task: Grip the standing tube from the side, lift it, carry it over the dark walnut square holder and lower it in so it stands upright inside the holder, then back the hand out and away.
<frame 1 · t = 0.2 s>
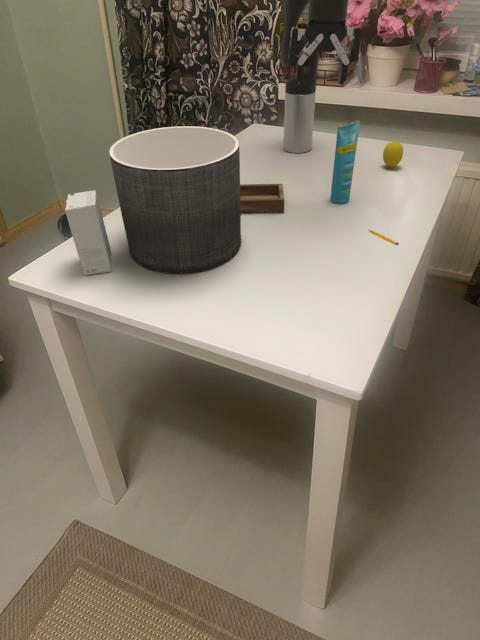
hand: (320, 83, 101), 29 cm above the table, tool pointing down, fingers open, 8 cm apart
holder: (259, 204, 121), on the table
pencil: (382, 239, 107), on the table
planter: (185, 245, 106), on the table
lemon: (390, 168, 139), on the table
skincare box: (97, 265, 101), on the table
tube: (340, 201, 123), on the table
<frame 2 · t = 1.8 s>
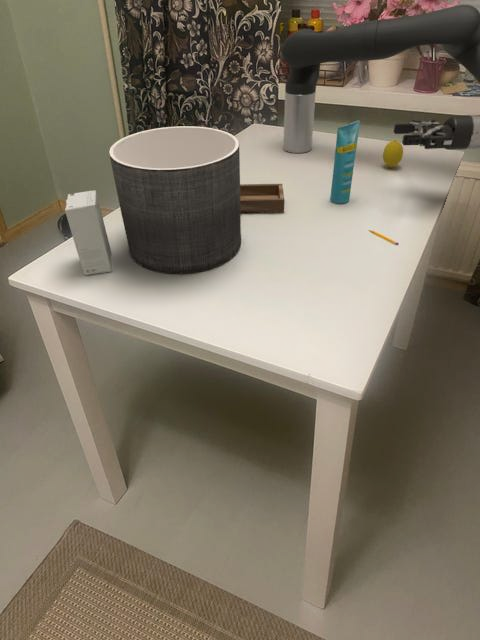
hand: (398, 134, 112), 16 cm above the table, tool horizontal, fingers open, 8 cm apart
nothing on the table moved.
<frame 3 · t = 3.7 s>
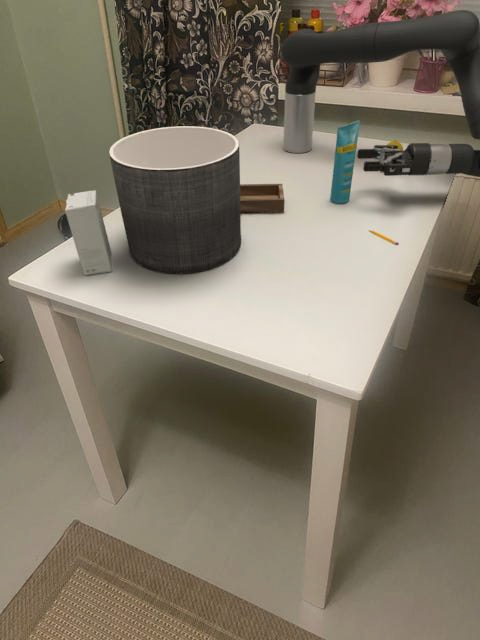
hand: (360, 160, 116), 10 cm above the table, tool horizontal, fingers open, 8 cm apart
nothing on the table moved.
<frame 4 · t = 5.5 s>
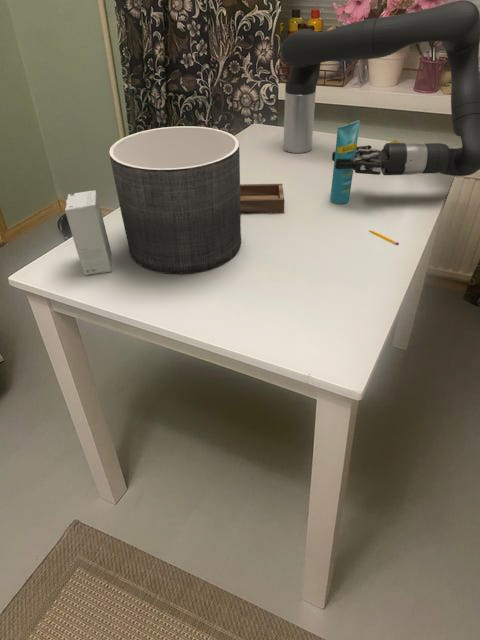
hand: (334, 160, 116), 11 cm above the table, tool horizontal, fingers closed on tube, 4 cm apart
tube: (340, 200, 123), on the table, touching gripper
everything else where it was.
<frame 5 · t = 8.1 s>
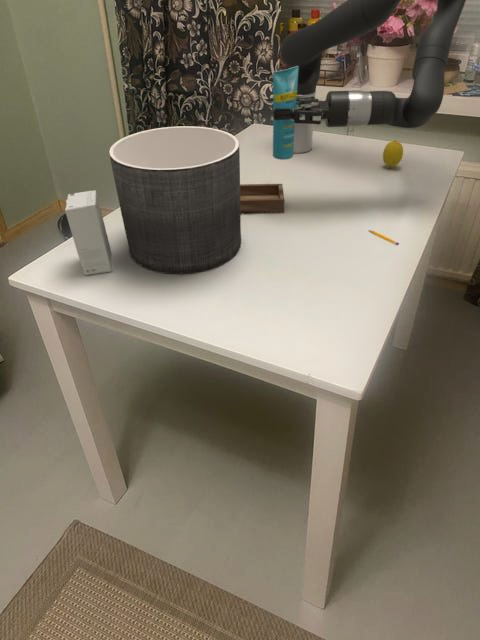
hand: (273, 111, 108), 23 cm above the table, tool horizontal, fingers closed on tube, 4 cm apart
tube: (283, 157, 114), point 12 cm above the table, touching gripper
everything else where it was.
when the fingers open (12 cm above the table, at t = 11.0 s): tube stays where it is, resting on holder.
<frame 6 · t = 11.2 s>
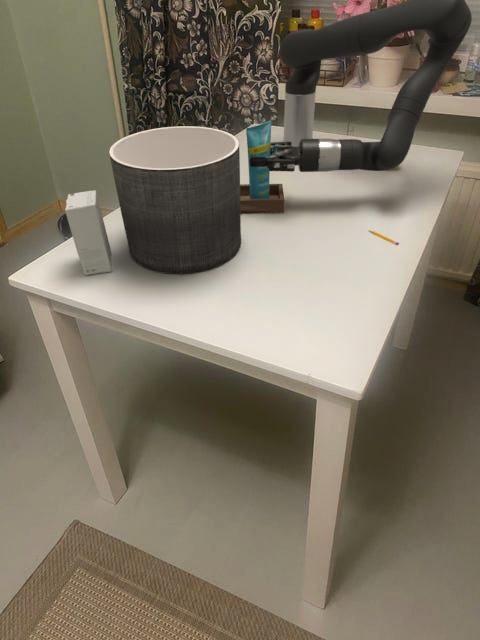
hand: (250, 156, 114), 12 cm above the table, tool horizontal, fingers open, 6 cm apart
tube: (260, 202, 121), point 1 cm above the table, touching holder
everything else where it was.
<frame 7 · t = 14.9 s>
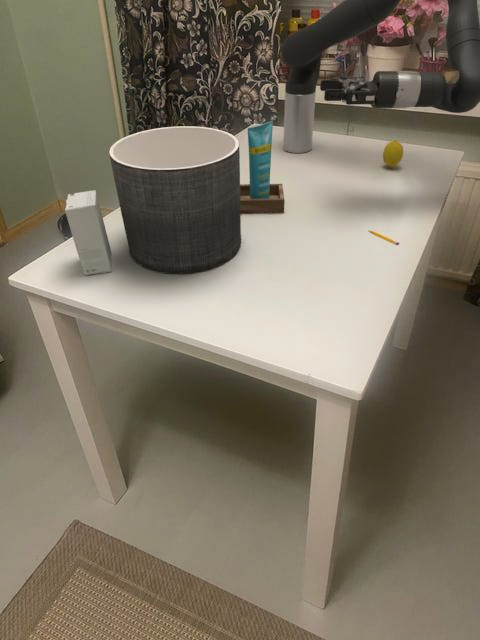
hand: (322, 90, 106), 27 cm above the table, tool horizontal, fingers open, 8 cm apart
nothing on the table moved.
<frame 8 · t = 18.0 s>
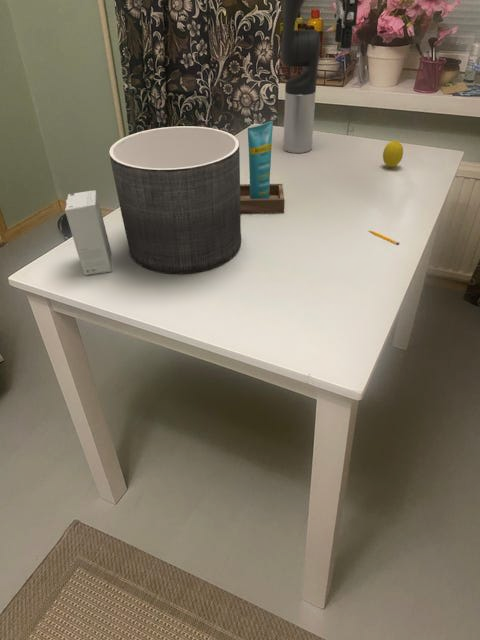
hand: (342, 45, 107), 34 cm above the table, tool pointing down, fingers open, 8 cm apart
nothing on the table moved.
at the end: tube 0.2 cm off-centre on the holder, point 0.6 cm above the holder's base; tube tilted 0°; the gripper is holding nothing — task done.
